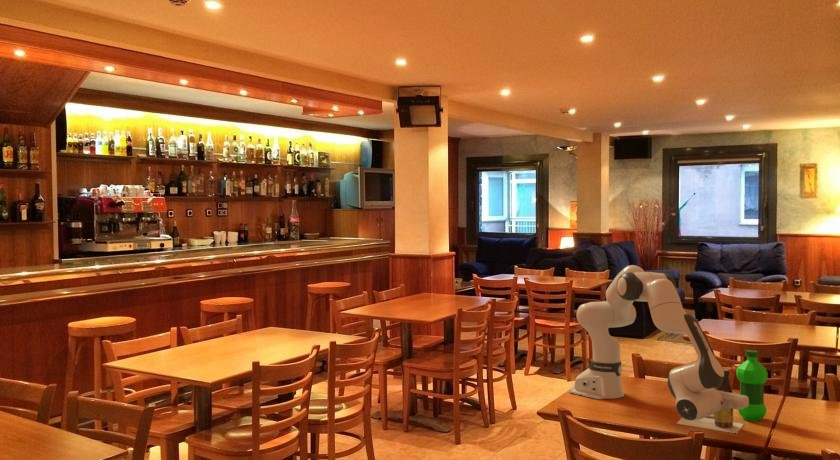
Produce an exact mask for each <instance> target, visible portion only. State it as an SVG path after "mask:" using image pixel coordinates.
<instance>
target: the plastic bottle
mask: <svg viewBox="0 0 840 460" xmlns="http://www.w3.org/2000/svg"><path fill="white" fill-rule="evenodd" d="M745 356H746V360H745V361H743V362H742V363H740V364H739V365H738V366H737V367H736V373H735V374H736V377H737V380H739V393H740V394H741V395H745V396H747V397H748V398H749V405H748V407H746V408H742V409H737V411H738V414H739V415H740V417H742V419H743V418H744V420H746V421H749V420H750V421H751V422H758V420H759V421H760V420H761V419H763V418H764V417H765V416H766V415H767V407H766V405H765V402H764V399H765V398H764V395H765V394H764V392H765V390H764V389H765V385H764V384H765V383H767V381H768V376H769V375H768V374H769V373H768V371H767V368H765V366H764V365H762V364H761V363H760V362H759V360H758V358H759V351H758V350H754V349H746V350H745ZM757 360H758V361H757Z"/></svg>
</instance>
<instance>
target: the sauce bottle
mask: <svg viewBox="0 0 840 460" xmlns="http://www.w3.org/2000/svg"><path fill="white" fill-rule="evenodd" d="M723 369H724V373H725V376H724V379H723V382H722V383H721V385H720V386H719V387H715V389H716V390H719V391H724V392H730V393H734V392H733V388H732V387H731V384H730V377H729V375H730V370H729V369H727V368H723ZM713 414H714V420H715V425H716V426H719V427H727V428H728V427H732V426H733V422H734V409H731V408H726V407H722V408H721V409H720V410H719V411H718V412H716V413H713Z"/></svg>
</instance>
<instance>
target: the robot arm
mask: <svg viewBox="0 0 840 460" xmlns="http://www.w3.org/2000/svg"><path fill="white" fill-rule="evenodd" d="M605 299H606V300H603V301H590V302H586V303H582V304H580V305H579V306H578V308H577V311H576V320H577V322H578V325H580V326H581V328H583V329H585V331H586V332H587V333H588V335H589V337H590V340H591V347H592V358H591V359H590V360H588V362H586V365H587V366H588V368H587V369H585V370H584V371H582V372H581V373H580V374H578V375H577V376H576V378H575V380H574V384H573V386H571V387H570V388H569V390H571V391H569V390H568V392H570V393H569V394H572V393H573V395H578V396H581V395H582V396H583V397H587V398H591V399H595V400H605V399H606V400H607V399H619V398H623V397H624V396H625V392H624V388H623V384H622V361H621V343H620V342H619V340H618V339H617V338H616V337H614V336H612V335H611V334H610V333H609V329H610V328H622V327H626V326H629V325H632V324H633V323H635V320H636V318H637V311H636V307H635V306H634V305H633V303H634V302H646V303H647V304H648V309H649V312H650V316H651V319H652V320H651V321H652V322H653V324H654V326H655V327H656V328H657V329H658V330H660V331H662V332H665V333H669V334H683V335H684V334H685V335H686V336H687V337H688V339H689V341H690V342H691V343H690V344H691V345H692V347H693V349H694V351H695V353H696V354H697V355H696V356H697V357H696V359H695V360H694V361H691V362H688V363H685V364H682V365H680V366H676V367H674V368H671V369H670V371H669V372H668V375H667V387H668V389H669V392H670V394H671V395H672V396H673V397H674V399H675V410H676V412H677V414H678V415H679V416H680V417H681V419H682V418H684V419H686V420H690V421H695V420H700V419H702V418H706V417H707V416H708V415H711V414H714V413H716V412H718V411H719V410H720V409H721V408H722V407H726V408H731V409H733V410H738V409H742V408H746V407H748V405H749V398H748V397H747V396H745V395H741V394H740V392H735V393H734V392H733V393H730V392H724V391H719V390H716V389H715V387H719V386H720V385H721V383H722V382H723V379H724V376H725V373H724V369H725V368H723V366H722V364H721V362H720V361H719V359H718V357H716V355H715V353H714V351H713V349H712V347H711V344H710V343H709V341H708V339H707V338H706V334H705V333H704V331H703V329H702V326H701V325H700V324H699V322H698V321H697V319H696V318H695V317H694V315H692V314H690V313H687V312H686V311H685V309H684V307H683V303H682V301H681V298H680V296H679V293H678V291H677V283H676V280H675V278H674V277H673V276H672V275H670V274H668V273H665V272H653V271H645V270H644V269H643V268H642V267H640V266H638V265H634V264H631V265H626V267H624V268H622V270H620V272H619V273H618V274H616V276H615V277H614V278H613V280H612V282H611V283H610V285H609V286H608V287H607V289H606V291H605Z"/></svg>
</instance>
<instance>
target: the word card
mask: <svg viewBox="0 0 840 460" xmlns="http://www.w3.org/2000/svg"><path fill="white" fill-rule="evenodd" d="M705 418H709V419H714V413H713V414H711V415H708V416H707V417H705Z"/></svg>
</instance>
